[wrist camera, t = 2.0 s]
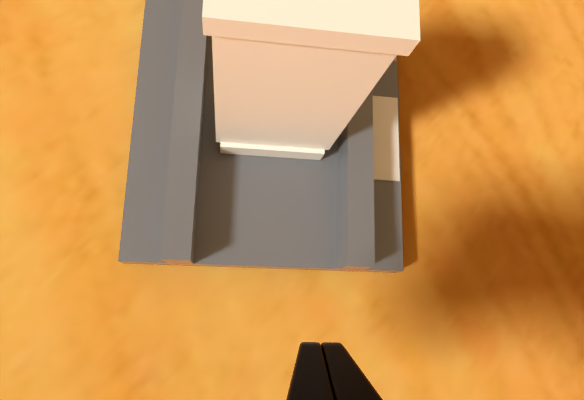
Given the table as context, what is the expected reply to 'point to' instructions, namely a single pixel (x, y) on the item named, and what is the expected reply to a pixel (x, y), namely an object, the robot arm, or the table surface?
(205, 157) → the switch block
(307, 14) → the tab
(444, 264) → the table surface
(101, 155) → the table surface
